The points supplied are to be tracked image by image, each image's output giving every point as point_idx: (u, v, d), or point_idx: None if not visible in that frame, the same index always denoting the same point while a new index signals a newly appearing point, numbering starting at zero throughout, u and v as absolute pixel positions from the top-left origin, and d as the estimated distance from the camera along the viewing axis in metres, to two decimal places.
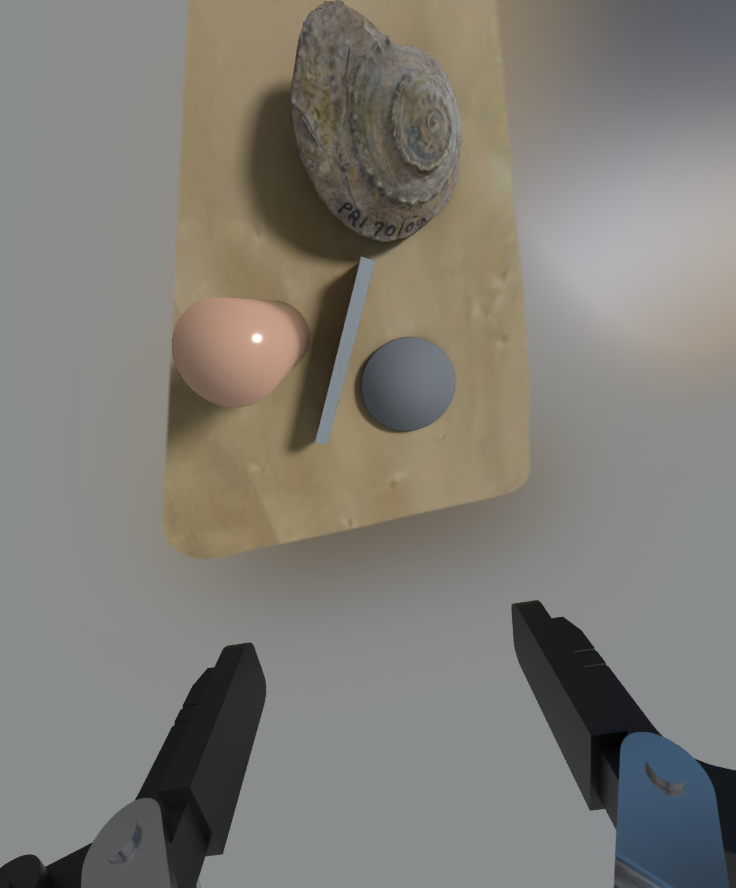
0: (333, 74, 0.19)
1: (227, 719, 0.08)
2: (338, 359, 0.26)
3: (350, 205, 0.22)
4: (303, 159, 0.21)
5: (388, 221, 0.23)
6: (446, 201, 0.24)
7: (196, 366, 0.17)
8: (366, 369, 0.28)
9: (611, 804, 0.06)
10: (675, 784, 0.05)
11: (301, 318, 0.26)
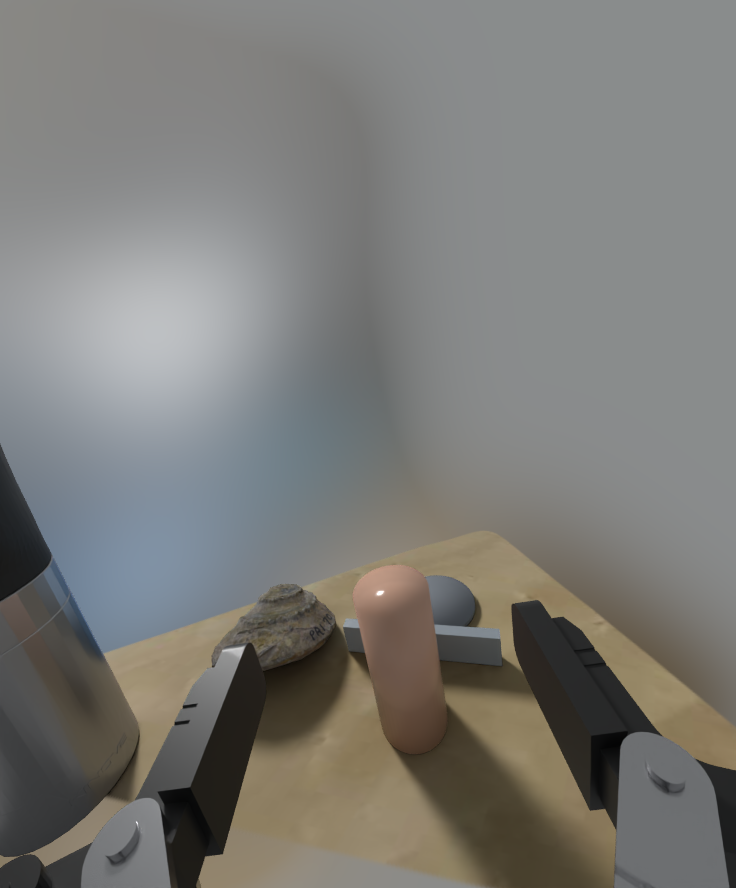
0: (246, 638, 0.31)
1: (227, 719, 0.08)
2: None
3: (311, 631, 0.32)
4: (280, 658, 0.29)
5: (323, 615, 0.35)
6: None
7: (400, 605, 0.22)
8: None
9: (611, 804, 0.06)
10: (675, 784, 0.05)
11: None
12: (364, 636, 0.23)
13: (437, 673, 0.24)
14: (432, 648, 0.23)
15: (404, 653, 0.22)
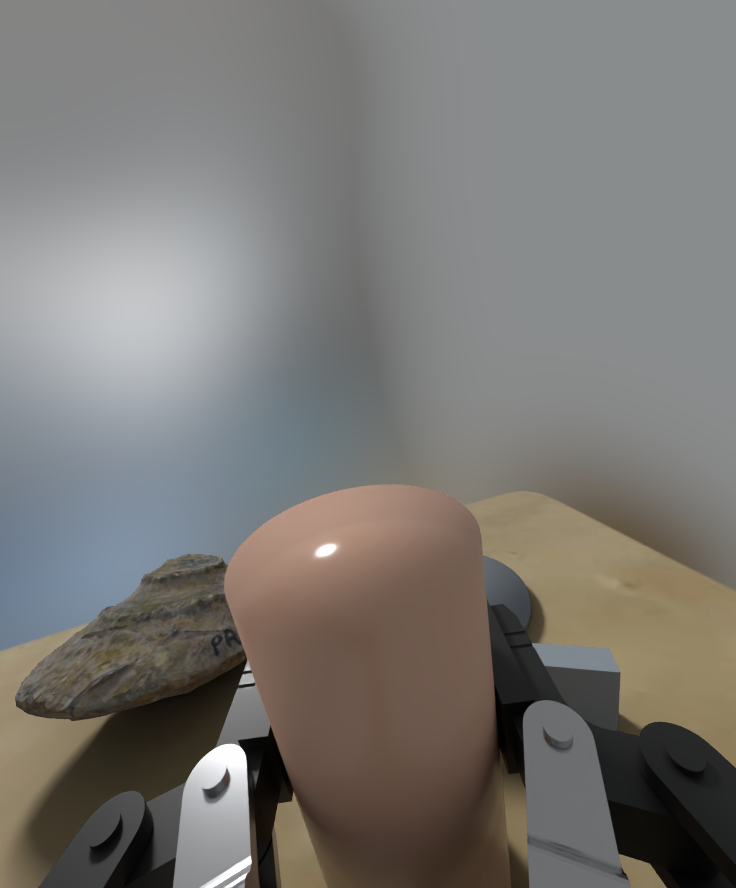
0: (88, 648, 0.16)
1: None
2: None
3: (217, 636, 0.17)
4: (134, 693, 0.14)
5: None
6: None
7: (381, 583, 0.06)
8: None
9: (521, 765, 0.07)
10: (562, 742, 0.06)
11: None
12: (260, 694, 0.07)
13: (499, 797, 0.08)
14: (490, 728, 0.07)
15: (398, 769, 0.06)
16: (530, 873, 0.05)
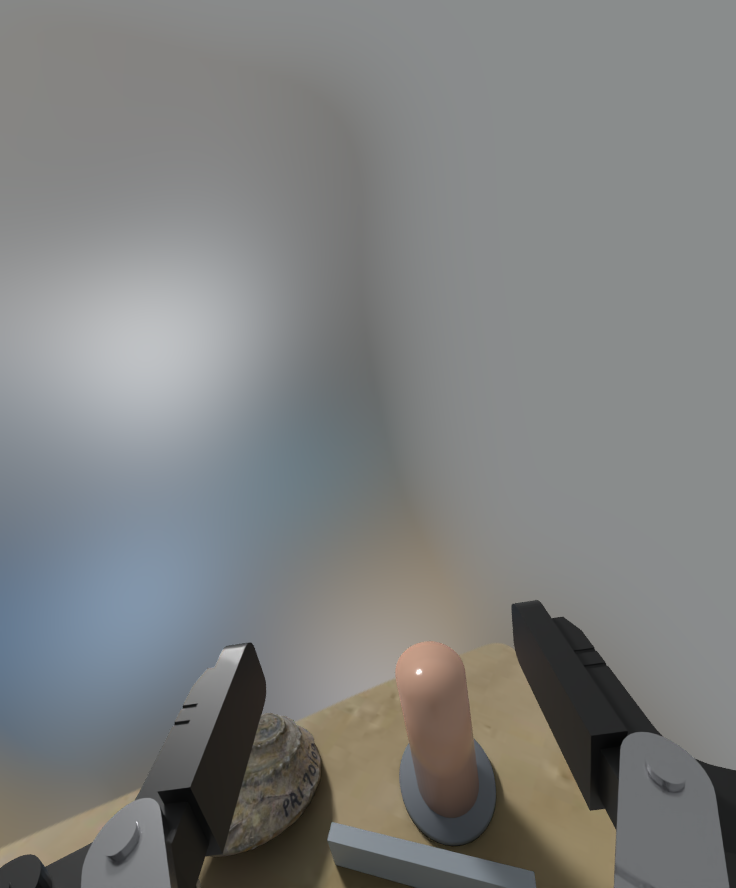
0: None
1: (227, 719, 0.08)
2: (423, 861, 0.23)
3: (286, 800, 0.27)
4: (243, 846, 0.25)
5: (305, 768, 0.30)
6: (306, 730, 0.35)
7: (441, 689, 0.24)
8: (438, 835, 0.26)
9: (611, 804, 0.06)
10: (675, 784, 0.05)
11: None
12: (407, 715, 0.25)
13: (472, 744, 0.26)
14: (468, 724, 0.25)
15: (446, 733, 0.24)
16: None
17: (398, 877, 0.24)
